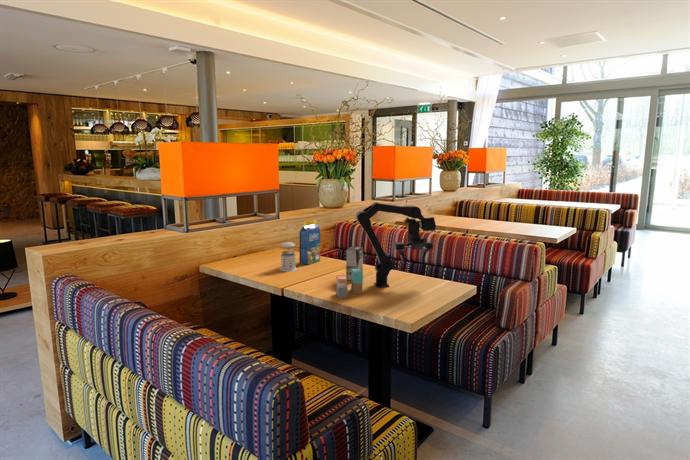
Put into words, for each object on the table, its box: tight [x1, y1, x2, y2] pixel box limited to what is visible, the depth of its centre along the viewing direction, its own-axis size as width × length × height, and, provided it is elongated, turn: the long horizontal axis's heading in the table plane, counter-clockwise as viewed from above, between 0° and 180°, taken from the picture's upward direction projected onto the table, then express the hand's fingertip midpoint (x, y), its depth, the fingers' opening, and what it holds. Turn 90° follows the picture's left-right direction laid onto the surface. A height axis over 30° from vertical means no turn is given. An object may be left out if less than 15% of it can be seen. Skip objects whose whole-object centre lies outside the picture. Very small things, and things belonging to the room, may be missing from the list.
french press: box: [279, 224, 298, 272], centre depth 248 cm, size 10×12×25 cm
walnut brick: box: [350, 279, 363, 295], centre depth 212 cm, size 7×4×5 cm, turn 9°
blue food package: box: [299, 219, 321, 266], centre depth 264 cm, size 6×12×25 cm, turn 146°
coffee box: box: [345, 245, 364, 281], centre depth 233 cm, size 9×6×16 cm
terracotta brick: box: [335, 274, 348, 287], centre depth 219 cm, size 7×4×5 cm, turn 9°
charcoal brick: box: [335, 283, 349, 300], centre depth 205 cm, size 7×4×5 cm, turn 9°
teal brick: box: [352, 269, 364, 284], centre depth 211 cm, size 7×4×5 cm, turn 9°
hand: (412, 262), depth 222 cm, fingers open, 9 cm apart
